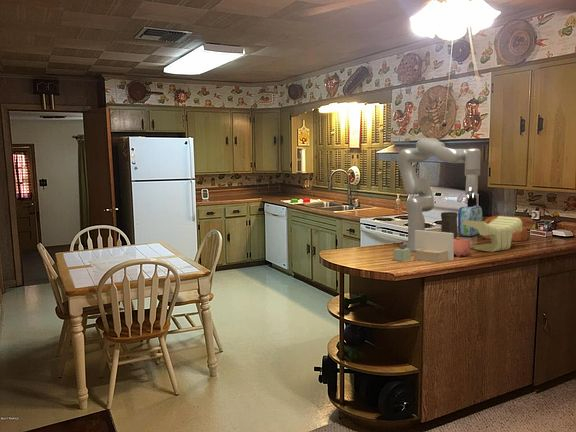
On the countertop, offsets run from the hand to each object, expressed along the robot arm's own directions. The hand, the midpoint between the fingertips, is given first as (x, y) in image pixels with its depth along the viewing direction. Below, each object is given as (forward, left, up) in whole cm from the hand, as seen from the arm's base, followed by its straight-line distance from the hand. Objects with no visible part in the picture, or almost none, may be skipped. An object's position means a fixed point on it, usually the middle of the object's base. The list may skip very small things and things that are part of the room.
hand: (471, 205), depth 250 cm
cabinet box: (-26, -25, -28) cm, 46 cm away
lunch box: (-42, +80, -28) cm, 95 cm away
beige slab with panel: (-17, -14, -28) cm, 35 cm away
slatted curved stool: (-4, +33, -28) cm, 44 cm away
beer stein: (-36, +41, -28) cm, 61 cm away
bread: (-16, +75, -28) cm, 82 cm away
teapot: (-10, +4, -28) cm, 30 cm away
